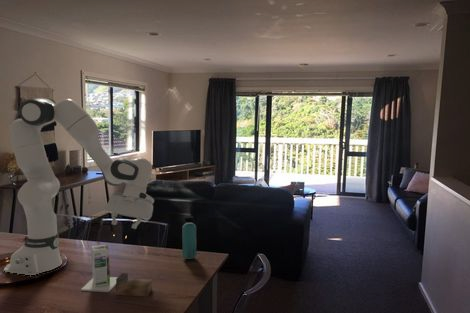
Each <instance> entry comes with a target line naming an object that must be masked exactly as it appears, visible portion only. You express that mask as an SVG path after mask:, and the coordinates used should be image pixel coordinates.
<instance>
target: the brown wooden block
mask: <svg viewBox="0 0 470 313" xmlns="http://www.w3.org/2000/svg"><path fill="white" fill-rule="evenodd" d="M117 277H118V278H117V279H116V284H115V285H116V286H115V295H117V296H120V295H121V296H135V297H149V295H150V294H151V292H152V290H153V279H149V278H148V279H147V278H146V279H145V278H140V279H139V278H129V275H128V273H125V272H122V273H120V274H119V275H118V276H117Z"/></svg>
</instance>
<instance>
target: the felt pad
mask: <svg viewBox="0 0 470 313" xmlns="http://www.w3.org/2000/svg"><path fill="white" fill-rule="evenodd" d="M117 278H118V276H117V277H116V276H110V285H104V286H98V287H94V283H93V277H92V278H91V279H90V280H89V281H88V282H87V283H86V284H85V285H83V287H82V288H81V289H80V291H81V292H82V291H83V292H98V293H111V291H112V290H113V289H114V288H116V285H115V284H116V279H117Z"/></svg>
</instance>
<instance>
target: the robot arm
mask: <svg viewBox="0 0 470 313" xmlns="http://www.w3.org/2000/svg"><path fill="white" fill-rule="evenodd" d="M18 114H19V117H20V118H17V119H15V120H14V121H12V122H11V123H10V126H9V134H10V135H9V137H10V142H11V146H12V150H13V154H14V156H15V160H16V163H17V167H18V168H19V169H20V170H21V172H22V173H23V175H24V176H25V178H26V180H27V181H26V182H25V183H23V184H22V186H21V187H20V188H19V190H18V191H17V200H18V202H19V204H20V205H22V208H23V211H24V215H25V218H26V219H25V220H26V225H27V226H26V228H27V236H25V237H24V238H22V239H21V243H23V242H24V243H23V245H21V247H20V248H18V249H16V251H15V252H13V253H12V254H11V256H10V258H9V259H10V260H9V263H8V264H6V266H5V267H4V268H3V272H4V271H5V272H4V273H7V272H10V273H9V274H13V273H17V274H16V275H19V274H25V275H30V276H29V277H32V276H31V275H35V276H37V275H36V274H38V275H40V274H39V273H42V272H45V271H49V270H52V269H54V268H56V267H58V266H60V265H61V264H62V262H63V261H62V260H63V259H62V257H61V255H60V249H59V246H60V245H59V244H60V243H59V242H60V241H59V240H60V238H59V232H58V225H57V215H56V213H55V211H54V208H53V203H52V199H53V198H55V197H56V196H57V195H58V193H59V191H60V188H61V182H60V181H59V180H60V179H58V177H56V175H55V173H54V170H53V169H52V167H51V164H50V162H49V160H48V157H47V153H46V150H45V146H44V141H43V139H42V138H43V137H42V135H41V134H42V132H41V130H42V129H43V128H46V127H48V126H50V125H53V124H54V123H55V122H56V123H59V125H61V126H62V127H63V129H64V130H65V131H66V132H67V133H68V134H69V135H70V137H71V138H73V139H74V140H75V141H76V142H77V143H78V144H79V146H81V147H82V148H83V150H85V152H86V153H87V154H88V156H89V157H90V158H91V159H92V160H93V162H94V163H95V165H97V167H98V168H99V169H100V171H101V174H102V177H103V179H104V182H106V183H107V184H108V185H109V186H112V187H118V186H121V185H122V184H125V188H124V190H123V192H119V191H115V192H113V193H112V194H110V198H109V200H108V202H107V204H106V206H105V211H106V212H107V213H110V214H111V219H112V220H111V225H117V224H118V220H117V219H116V218H117V217H118V215H120V216H125V217H130V218H134V219H135V218H136V221H135V222H134V223H132V224H131V229H134V230H136V229H137V228H138V225H139V224H140V223H142V220H145V221H146V220H147V221H149V220H150V219H151V218H152V216H153V212H154V202H155V199H154V198H153V196H150V195H149V194H148V193H147V187H148V184H149V183H150V180H151V177H152V173H153V165H152V164H151V162H150V161H149V160H147V159H145V158H142V157H138V158H132V159H127V158H117V159H115V160H113V159H112V158H111V156H110V155H109V154H108V153H107V152H106V151H105V149H104V148H103V146H102V145H101V142H100V136H99V134H100V132H99V131H100V130H99V127H98V125H97V123H96V122H95V120H94V118H92V116H91V115H90V114H89V113H88V112H87V111H86V110H85V109H84V108H83V107H82V106H81V105H80V104H78V102H76V101H74V99H71V98H64V99H61V100H59V101H57V102H55V101H54V100H52V99H50V98H45V97H44V98H43V97H37V98H35V97H34V98H29V99H26V100H24V101H23V102H22V103H21V104H20V106H19V109H18ZM42 274H43V273H42ZM25 275H24V276H25Z"/></svg>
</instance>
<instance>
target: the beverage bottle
mask: <svg viewBox="0 0 470 313" xmlns="http://www.w3.org/2000/svg"><path fill="white" fill-rule="evenodd" d="M183 220H184V224H183V225H182V228H181V229H182V231H181V232H182V241H181V242H182V245H181V246H182V257H183V258H184V259H189V260H191V259H195V258H197V243H198V242H197V225H196V224H195V223H193V222H194V220H195V218H194V216H193V215H186V216H184V219H183Z"/></svg>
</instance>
